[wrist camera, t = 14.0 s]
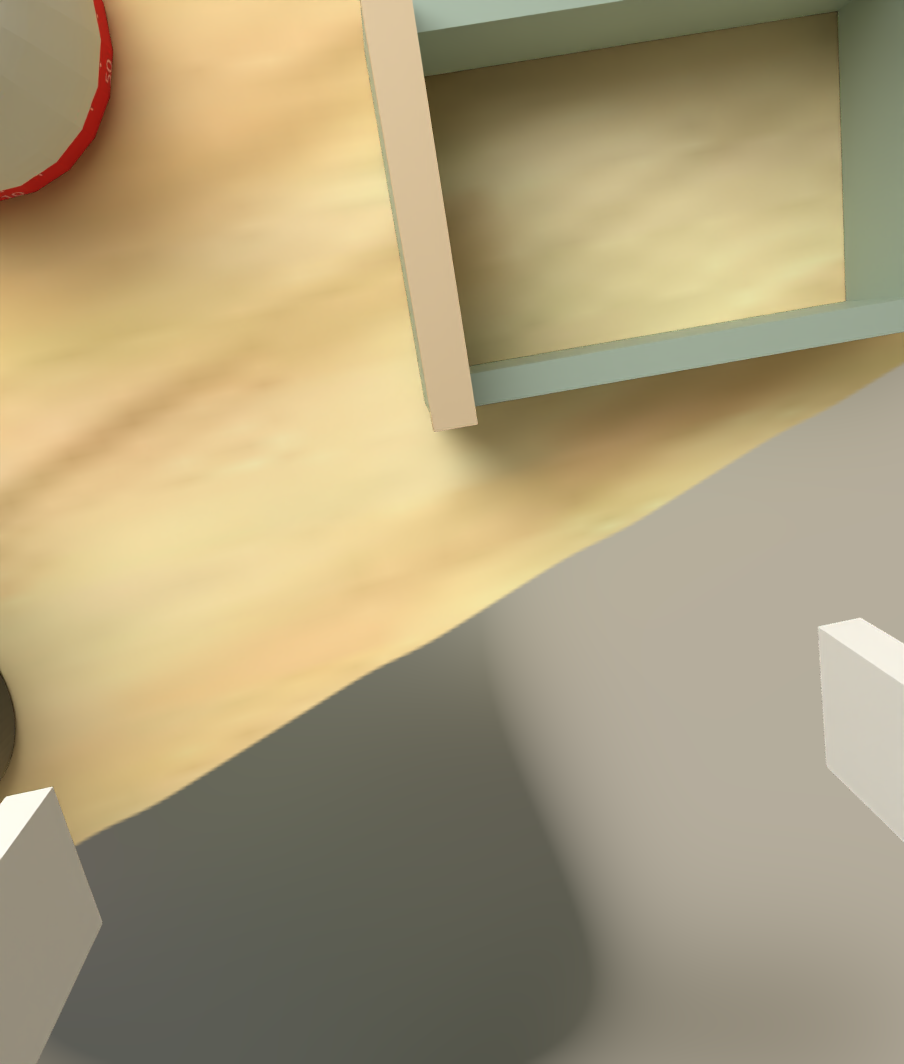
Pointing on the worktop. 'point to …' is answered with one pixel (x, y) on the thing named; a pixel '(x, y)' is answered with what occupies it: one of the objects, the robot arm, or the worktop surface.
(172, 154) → the worktop surface
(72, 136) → the kitchen timer
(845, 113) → the green drawer
